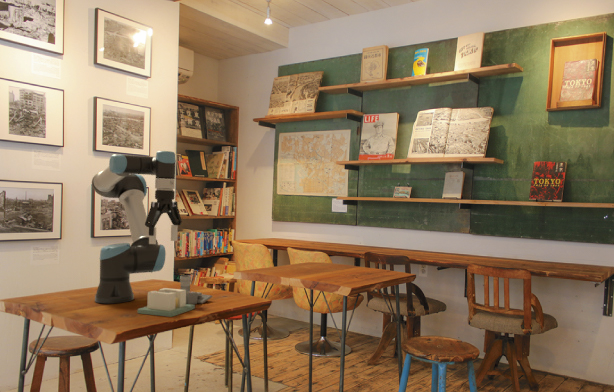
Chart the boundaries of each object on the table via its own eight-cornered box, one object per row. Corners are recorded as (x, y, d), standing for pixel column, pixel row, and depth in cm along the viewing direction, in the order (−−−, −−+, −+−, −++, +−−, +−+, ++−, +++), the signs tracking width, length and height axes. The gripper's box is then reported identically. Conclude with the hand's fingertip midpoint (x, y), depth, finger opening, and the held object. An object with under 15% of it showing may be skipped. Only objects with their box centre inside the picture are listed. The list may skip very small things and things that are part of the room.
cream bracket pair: (185, 305, 192) (185, 289, 192) (169, 310, 182) (169, 294, 182) (164, 303, 195) (164, 287, 195) (147, 308, 186) (147, 292, 186)
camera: (171, 276, 198) (197, 272, 211) (170, 305, 198) (196, 299, 211) (188, 278, 194) (213, 273, 207) (187, 308, 194) (212, 302, 207)
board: (137, 313, 184) (137, 294, 184) (162, 305, 198) (162, 287, 198) (171, 316, 179) (171, 297, 179) (194, 308, 193) (195, 290, 193)
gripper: (152, 189, 187) (150, 246, 187) (191, 190, 210) (189, 240, 210) (136, 189, 189) (134, 244, 190) (176, 189, 213) (174, 239, 213)
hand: (163, 242), depth 200 cm, fingers open, 13 cm apart
